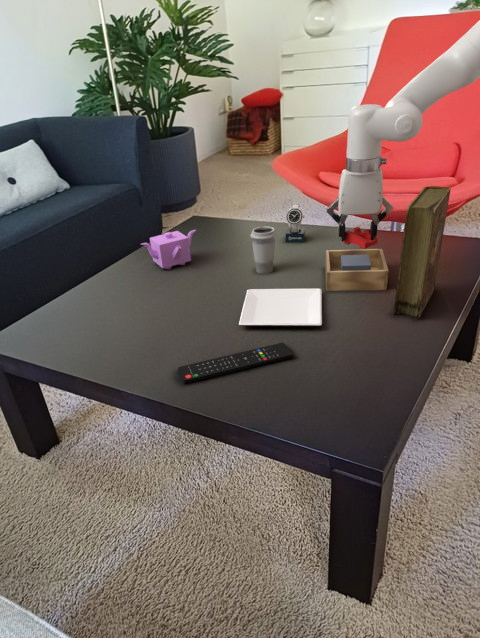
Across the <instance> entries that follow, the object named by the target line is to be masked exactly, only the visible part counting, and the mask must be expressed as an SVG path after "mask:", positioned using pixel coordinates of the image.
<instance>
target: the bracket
mask: <svg viewBox="0 0 480 638" xmlns="http://www.w3.org/2000/svg"><path fill="white" fill-rule="evenodd" d="M378 240H379V239H378V237H377V236H374V239H373V240H371V230H370V228H367V229H365V230H364V231H362V230H361V227H360V226H356V227H354V228H353V231H352V230H345V241H344V242H343V244H345V245H350V244H352V245H356V246H360V248H359V249H369V248H370V247H372V246H375V245H377V244H378V242H379V241H378Z"/></svg>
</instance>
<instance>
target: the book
mask: <svg viewBox="0 0 480 638" xmlns="http://www.w3.org/2000/svg"><path fill="white" fill-rule="evenodd" d="M451 189H452V188H450V187H448V186H442V185H441V186H440V185H438V186H437V185H431V186H424V187H422V189H421V190H420V192H419V193H418V194H416V196H415V197H414V198H413V200H412V201H411V202H410V203H409V204H408V206H407V207H406V210H405V211H406V212H405V217H404V225H403V234H402V242H401V249H400V259H399V267H398V275H397V282H396V292H395V297H394V306H393V316H399V315H401V316H409V317H411V318H414V319H417V320H420V318H421V316H422V314H423V312H424V310H425V308H426V307H427V304H428V302H429V301H430V299H431V297H432V295H433V293H434V291H435V286H436V281H437V280H436V279H437V273H438V267H439V262H440V255H441V250H442V244H443V237H444V232H445V226H446V220H447V213H448V207H449V201H450V195H451V191H452V190H451Z"/></svg>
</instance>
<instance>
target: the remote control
mask: <svg viewBox="0 0 480 638" xmlns="http://www.w3.org/2000/svg"><path fill="white" fill-rule="evenodd" d="M292 358H294V354H293V352H292V351H291V350H290V349H289V348H288V346H287V345H286V344H285V342H283V341H282V342H279V343H275V344H271V345H266V346H262V347H258V348H253V349H248V350H244V351H240V352H237V353H232V354H228V355H224V356H220V357H215V358H211V359H207V360H202V361H198V362H194V363H190V364H186V365H180V366H178V367H177V374H178V379H179V381H180V382H181V383H182V384H188V383H192V382H197V381H202V380H205V379H209V378H213V377H217V376H222V375H226V374H230V373H233V372H238V371H243V370H247V369H250V368H254V367H258V366H262V365H267V364H272V363H274V362H275V363H276V362H280V361H283V360H287V359H292Z"/></svg>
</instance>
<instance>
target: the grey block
mask: <svg viewBox="0 0 480 638" xmlns="http://www.w3.org/2000/svg"><path fill="white" fill-rule="evenodd" d="M357 270H371V263H370V259H369V255H341V263H340V271H357Z"/></svg>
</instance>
